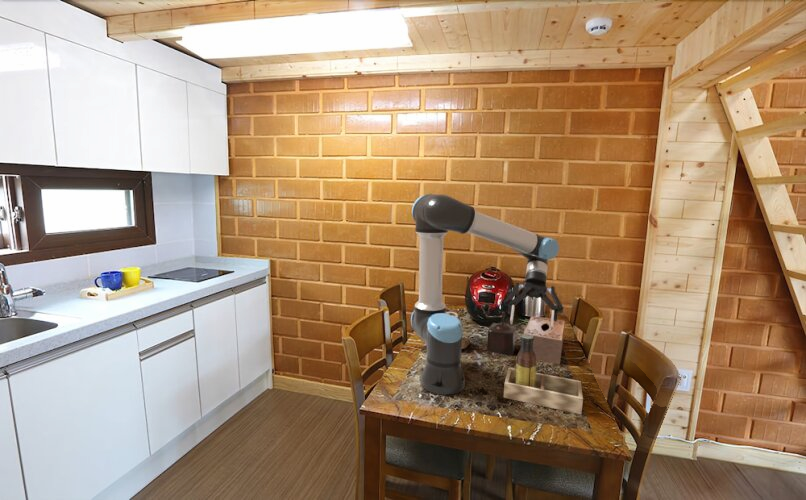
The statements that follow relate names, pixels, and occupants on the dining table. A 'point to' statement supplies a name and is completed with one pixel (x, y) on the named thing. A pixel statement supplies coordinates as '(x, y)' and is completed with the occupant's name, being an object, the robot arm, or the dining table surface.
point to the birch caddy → (546, 392)
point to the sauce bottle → (526, 362)
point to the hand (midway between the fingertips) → (531, 325)
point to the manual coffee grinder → (500, 335)
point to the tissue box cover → (546, 338)
